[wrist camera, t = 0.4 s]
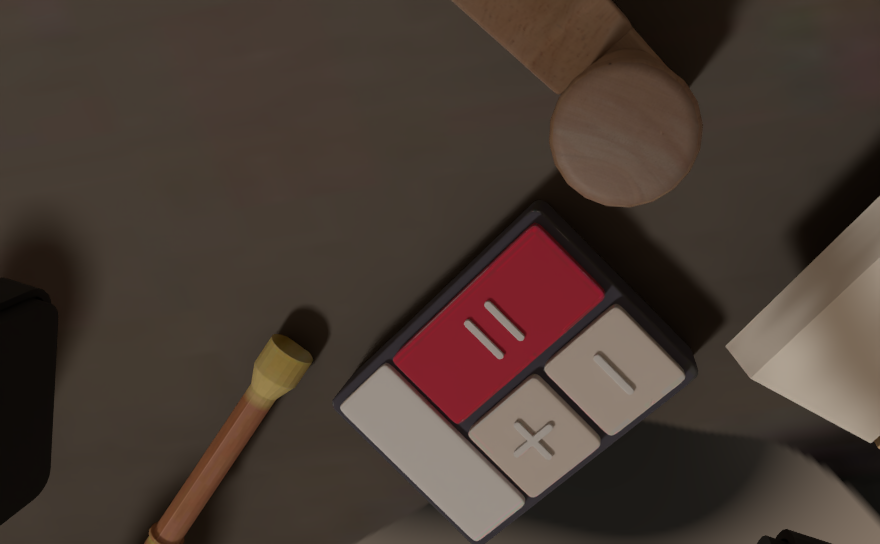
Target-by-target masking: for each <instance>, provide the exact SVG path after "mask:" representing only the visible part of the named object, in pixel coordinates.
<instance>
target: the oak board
mask: <svg viewBox="0 0 880 544" xmlns="http://www.w3.org/2000/svg"><path fill="white" fill-rule="evenodd" d="M874 442H875V444H876V445H877V447H878V448H879V449H880V436H879V437H878V438H877V439H875V440H874Z"/></svg>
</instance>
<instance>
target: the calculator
mask: <svg viewBox="0 0 880 544" xmlns="http://www.w3.org/2000/svg"><path fill="white" fill-rule="evenodd" d="M697 375H698V368H697V365H696V362H695V359H694V356H693V353H692V350H691V348H690V347H689V346H688V345H687V344H686V343H685V342H684V341H683V340H682V339H681V338H680V337H679V336H678V335H677V334H676V333H675V332H674V331H673V330H672V329H671V328H670V327H669V326H668V325H667V324H666V323H665V322H664V321H663V320H662V319H661V318H660V317H659V316H658V315H657V314H656V312H655V311H654V310H653V309H652V308H651V307H650V306H649V305H648V304H647V303H646V302H645V301H644V300H643V299H642V298H641V297H640V296H639V295H638V294H637V293H636V292H635V291H634V290H633V289H632V288H631V287H630V286H629V285H628V284H627V283H626V282H625V281H624V280H623V279H622V278H621V277H620V276H619V275H618V274H617V273H616V272H615V271H614V270H613V269H612V268H611V267H610V266H609V265H608V264H607V263H606V262H605V261H604V260H603V259H602V258H601V257H600V256H599V255H598V254H597V253H596V252H595V251H594V250H593V249H592V248H591V247H590V246H589V245H588V244H587V243H586V242H585V241H584V240H583V239H582V238H581V237H580V236H579V235H578V234H577V233H576V232H575V231H574V230H573V229H572V227H571V226H570V225H569V224H568V223H567V222H566V221H565V220H564V219H563V218H562V217H561V216H560V215H559V214H558V213H557V212H556V211H555V210H554V209H553V208H552V207H551V206H550V205H549V204H548V203H546V202H545V201H543V200H537V201H535V202H533V203H532V204H531V205H530V206H529V207H528V208H527V209H526V210H525V211H524V212H523V213H521V214H520V215H519V216H518V217H517V218H516V219H515V220H514V221H513V222H512V223H511V224H510V225H509V226H508V227H507V228H506V229H505V230H504V231H503V232H502V233H501V234H499V235H498V236H497V237H496V238H495V239H494V240H493V241H492V242H491V243H490V244H489V245H488V246H487V247H486V248H485V249H484V250H483V251H482V252H481V253H480V254H479V255H478V256H477V257H476V258H474V259H473V260H472V261H471V262H470V263H469V264H468V265H467V266H466V267H465V268H464V269H463V270H462V271H461V272H460V273H459V274H458V275H457V276H456V277H455V278H454V279H453V280H452V281H451V282H449V283H448V284H447V285H446V286H445V287H444V288H443V289H442V290H441V291H440V292H439V293H438V294H437V295H436V296H435V297H434V298H433V299H432V300H431V301H430V302H429V303H428V304H427V305H426V306H425V307H423V308H422V309H421V310H420V311H419V312H418V313H417V314H416V315H415V316H414V317H413V318H412V319H411V320H410V321H409V322H408V323H407V324H406V325H405V326H404V327H403V328H402V329H401V330H399V331H398V332H397V333H396V334H395V335H394V336H393V337H392V338H390V339H389V340H388V341H387V342H386V343H385V344H384V345H383V346H382V347H381V348H380V349H379V350H378V351H377V352H376V353H375V354H374V355H373V356H372V357H371V358H370V359H369V360H367V361H366V362H365V363H364V364H363V365H362V366H361V367H360V368H359V369H358V370H357V371H356V372H355V373H354V374H353V375H352V376H351V378H350V379H349V380H348V381H347V382H346V384H345V385H344V386H343V388H342V389H341V390H340V391H339V393H338V394H337V395H336V396H335V398H334V399H333V401H332V406H333V408H334V410H335V411H336V412H337V413H338V414H339V415H340V416H341V417H342V418H343V419H344V420H345V421H346V422H348V423H349V424H350V425H351V426H352V427H353V428H354V429H355V430H356V431H357V432H358V433H359V434H360V435H361V436H362V437H363V438H364V439H365V440H366V441H367V442H368V443H369V444H370V445H371V446H372V447H373V448H374V449H375V450H376V451H377V452H378V453H379V454H380V455H381V456H382V457H383V458H384V459H385V460H386V461H387V462H388V463H389V464H390V465H391V466H392V467H393V468H395V469H396V470H397V471H398V472H399V473H400V474H401V475H402V476H403V477H404V478H405V479H406V480H407V481H408V482H409V483H410V484H411V485H412V486H413V487H414V488H415V489H416V490H417V491H418V492H419V493H420V494H421V495H422V496H423V497H424V498H425V499H426V500H427V501H428V502H429V503H430V504H431V505H432V506H433V507H434V508H435V509H436V510H438V511H439V512H440V514H442V515H443V516H444V517H445V518H446V519H447V520H448V521H449V522H450V523H451V524H452V525H453V526H454V527H455V528H456V529H457V530H458V531H459V532H460V533H461V534H462V535H463V536H464V537H465V538H466V539H467V540H468V541H469V542H470V543H471V544H485V543H486V542H488V541H489V540H490V539H491V538H493V537H494V536H495V535H497V534H498V533H499V532H500V531H501V530H503V529H504V528H505V527H507V526H508V525H509V524H510V523H512V522H513V521H514V520H516V519H517V518H518V517H519V516H521V515H522V514H523V513H524V512H526V511H527V510H528V509H529V508H531V507H532V506H533V505H535V504H536V503H537V502H539V501H540V500H541V499H542V498H544V497H545V496H546V495H548V494H549V493H550V492H551V491H553V490H554V489H555V488H556V487H558V486H559V485H560V484H561V483H563V482H564V481H565V480H567V479H568V478H569V477H570V476H572V475H573V474H574V473H576V472H577V471H578V470H579V469H581V468H582V467H583V466H584V465H586V464H587V463H588V462H590V461H591V460H592V459H593V458H595V457H596V456H597V455H598V454H600V453H601V452H602V451H604V450H605V449H606V448H607V447H609V446H610V445H611V444H613V443H614V442H615V441H616V440H617V439H619V438H620V437H621V436H623V435H624V434H625V433H627V432H628V431H629V430H630V429H632V428H633V427H634V426H635V425H637V424H638V423H639V422H641V421H642V420H643V419H644V418H646V417H647V416H648V415H650V414H651V413H652V412H653V411H655V410H656V409H657V408H658V407H660V406H661V405H662V404H664V403H665V402H666V401H667V400H669V399H670V398H671V397H672V396H674V395H675V394H676V393H678V392H679V391H680V390H681V389H683V388H684V387H685V386H686V385H688V384H689V383H690V382H691V381H693V380H694V379H695V378H696V377H697Z"/></svg>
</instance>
